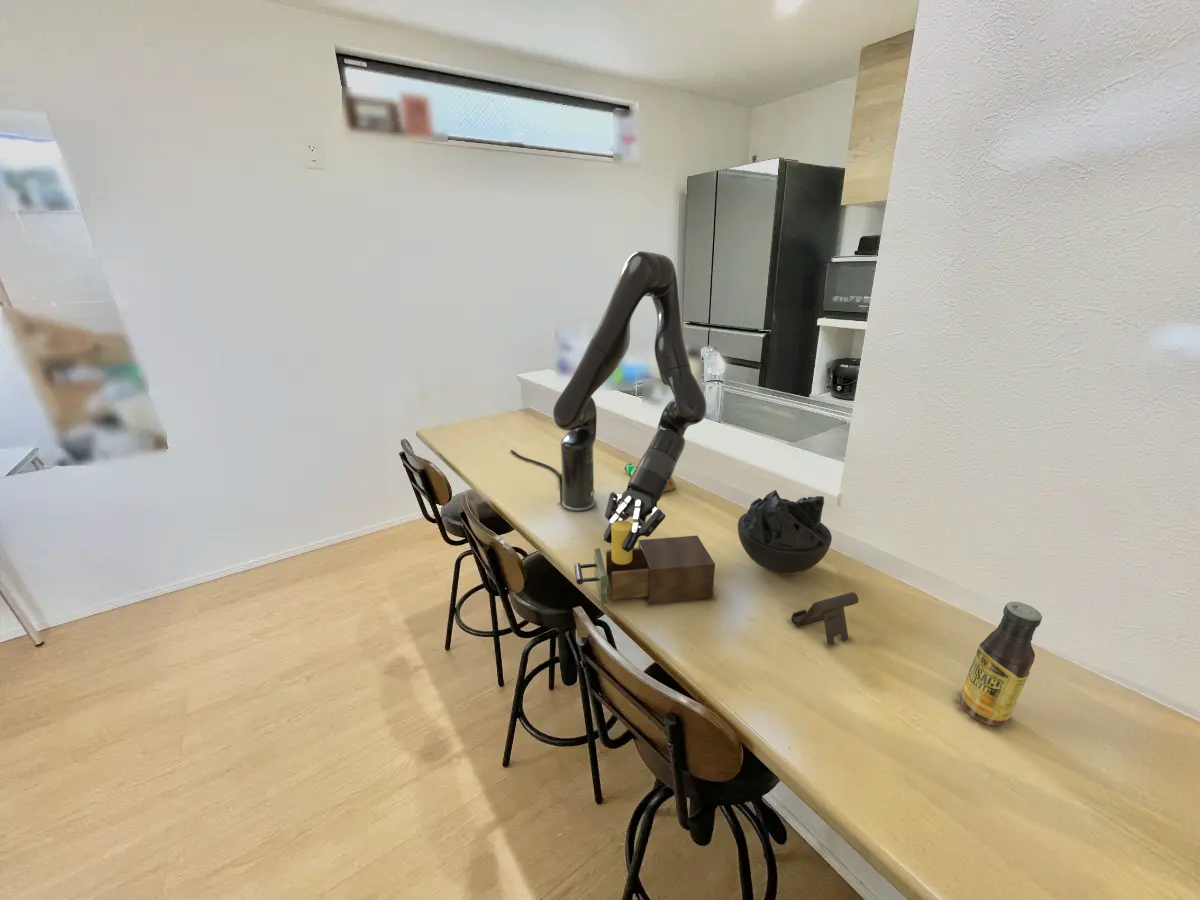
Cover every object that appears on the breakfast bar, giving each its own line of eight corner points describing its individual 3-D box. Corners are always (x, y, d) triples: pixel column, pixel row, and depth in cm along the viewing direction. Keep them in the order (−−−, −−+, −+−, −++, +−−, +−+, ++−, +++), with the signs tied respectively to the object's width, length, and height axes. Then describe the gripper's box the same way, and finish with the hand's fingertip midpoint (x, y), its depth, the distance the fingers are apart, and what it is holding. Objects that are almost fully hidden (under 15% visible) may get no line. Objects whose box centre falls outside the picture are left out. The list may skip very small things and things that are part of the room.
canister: (607, 560, 104) (607, 526, 101) (619, 551, 107) (619, 518, 104) (624, 567, 101) (624, 532, 98) (636, 557, 104) (636, 524, 102)
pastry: (655, 496, 150) (656, 485, 149) (640, 489, 155) (640, 478, 154) (676, 488, 155) (677, 477, 154) (661, 481, 160) (661, 470, 159)
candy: (622, 471, 166) (628, 460, 166) (629, 474, 168) (635, 464, 168) (640, 484, 156) (646, 473, 156) (647, 488, 158) (654, 477, 158)
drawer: (578, 606, 100) (577, 578, 98) (573, 576, 110) (572, 550, 108) (660, 598, 102) (661, 570, 100) (649, 570, 112) (649, 544, 110)
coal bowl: (720, 571, 113) (726, 497, 106) (752, 535, 128) (760, 468, 121) (810, 604, 101) (824, 524, 95) (834, 561, 116) (848, 488, 110)
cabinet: (649, 605, 102) (650, 569, 99) (637, 572, 113) (638, 540, 110) (712, 598, 104) (715, 564, 101) (695, 567, 114) (697, 535, 111)
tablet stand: (826, 611, 100) (832, 576, 97) (857, 636, 93) (865, 599, 90) (790, 621, 97) (796, 585, 94) (820, 648, 90) (827, 611, 87)
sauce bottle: (949, 696, 80) (981, 594, 73) (985, 693, 80) (1020, 592, 73) (981, 732, 73) (1020, 624, 67) (1020, 729, 74) (1063, 621, 67)
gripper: (619, 458, 107) (581, 528, 103) (673, 475, 98) (635, 552, 94) (634, 473, 113) (599, 540, 108) (687, 491, 104) (651, 564, 99)
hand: (616, 545), depth 101 cm, fingers closed on canister, 4 cm apart
